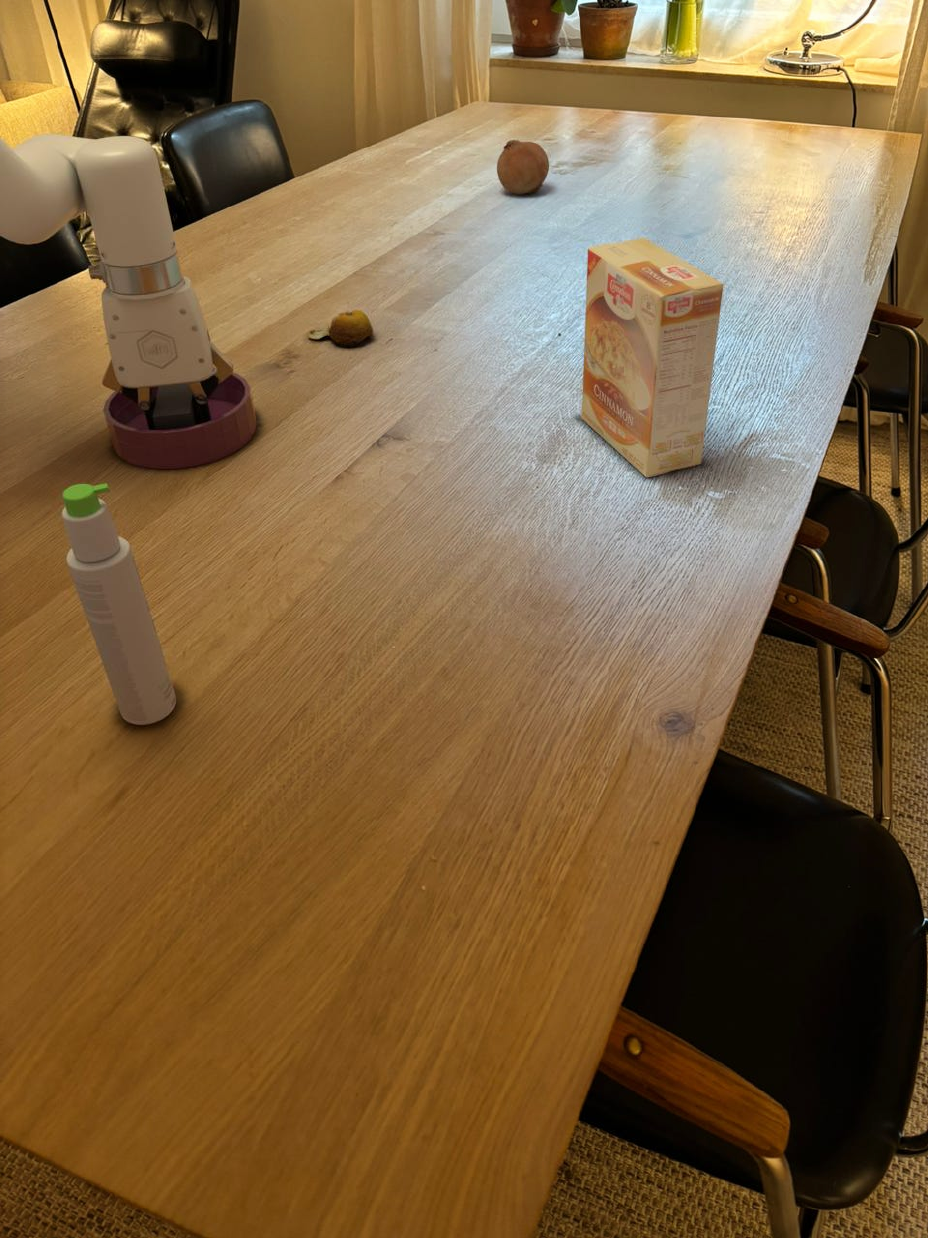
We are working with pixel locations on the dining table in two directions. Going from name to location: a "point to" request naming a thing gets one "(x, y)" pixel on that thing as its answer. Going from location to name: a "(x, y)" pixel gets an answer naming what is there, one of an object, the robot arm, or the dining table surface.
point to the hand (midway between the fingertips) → (182, 432)
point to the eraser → (174, 407)
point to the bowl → (184, 429)
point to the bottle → (116, 607)
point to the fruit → (346, 329)
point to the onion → (522, 167)
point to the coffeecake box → (649, 353)
